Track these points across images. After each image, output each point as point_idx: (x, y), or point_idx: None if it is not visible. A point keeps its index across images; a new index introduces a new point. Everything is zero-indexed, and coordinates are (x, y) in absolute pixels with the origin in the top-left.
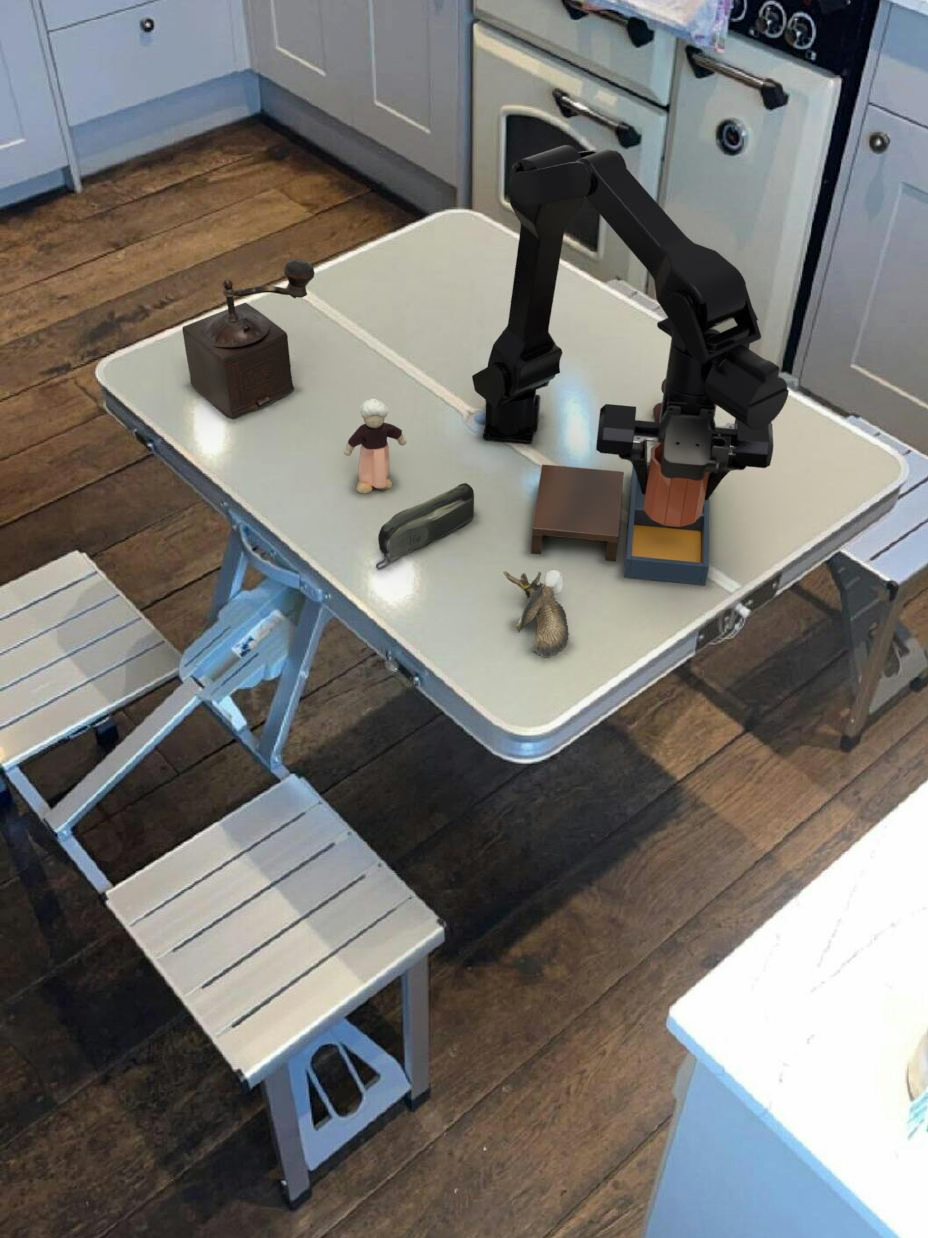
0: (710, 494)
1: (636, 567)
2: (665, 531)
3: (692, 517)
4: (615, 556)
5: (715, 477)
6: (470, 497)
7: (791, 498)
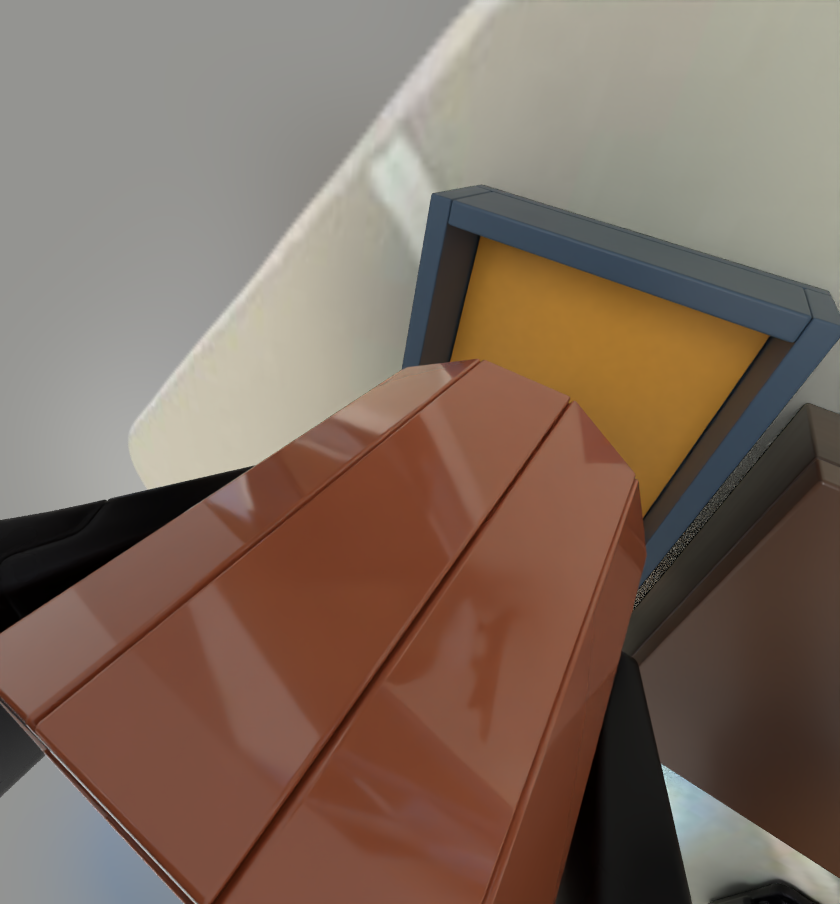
0: (243, 470)
1: (773, 291)
2: None
3: (390, 383)
4: (811, 415)
5: (76, 542)
6: None
7: (251, 461)
